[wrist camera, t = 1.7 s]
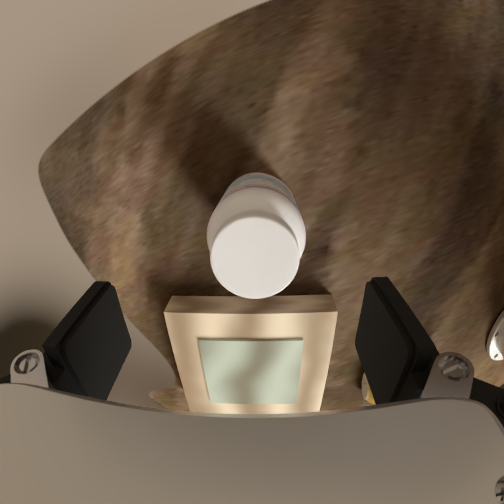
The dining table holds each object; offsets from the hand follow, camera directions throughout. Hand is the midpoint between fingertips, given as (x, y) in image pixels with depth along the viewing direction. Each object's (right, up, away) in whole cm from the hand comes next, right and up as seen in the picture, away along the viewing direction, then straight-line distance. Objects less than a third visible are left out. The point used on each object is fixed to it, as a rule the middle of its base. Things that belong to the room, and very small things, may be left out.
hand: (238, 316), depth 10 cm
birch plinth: (+1, -9, +22) cm, 24 cm away
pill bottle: (+1, +6, +15) cm, 16 cm away
